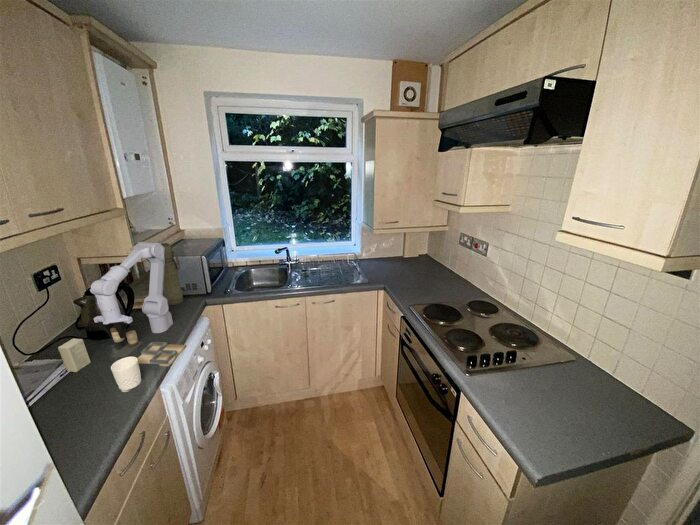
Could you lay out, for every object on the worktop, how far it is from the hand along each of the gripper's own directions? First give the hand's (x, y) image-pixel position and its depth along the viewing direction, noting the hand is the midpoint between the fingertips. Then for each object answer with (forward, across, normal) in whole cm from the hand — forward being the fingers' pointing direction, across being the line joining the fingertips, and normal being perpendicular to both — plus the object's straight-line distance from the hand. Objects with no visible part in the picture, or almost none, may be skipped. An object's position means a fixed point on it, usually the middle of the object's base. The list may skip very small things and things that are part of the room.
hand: (118, 336), depth 123 cm
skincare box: (+10, -11, -9) cm, 17 cm away
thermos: (+10, -8, +49) cm, 51 cm away
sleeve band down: (+8, 0, +7) cm, 11 cm away
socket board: (+9, +16, +1) cm, 18 cm away
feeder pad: (+9, 0, +3) cm, 10 cm away
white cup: (+10, +16, -17) cm, 25 cm away
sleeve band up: (+1, 0, 0) cm, 1 cm away
